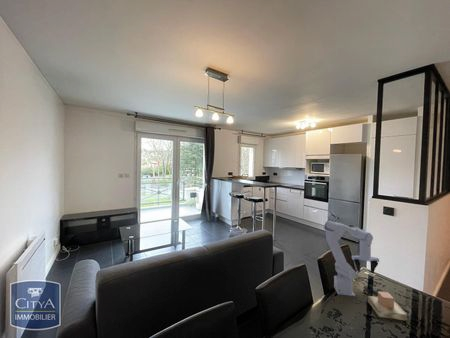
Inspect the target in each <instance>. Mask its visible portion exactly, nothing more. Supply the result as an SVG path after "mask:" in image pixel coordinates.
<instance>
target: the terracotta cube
mask: <svg viewBox="0 0 450 338" xmlns="http://www.w3.org/2000/svg"><path fill="white" fill-rule="evenodd" d="M377 297H378V301H379V303H380V304H381V305H382V306H383V307H389V308H394V301H395V298H394V297H393V296H392V295H391V293H389V292H387V291H377Z"/></svg>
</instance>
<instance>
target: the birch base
mask: <svg viewBox="0 0 450 338" xmlns="http://www.w3.org/2000/svg"><path fill="white" fill-rule="evenodd" d="M367 302H368V304H369V305H370V306H371V307H372V310H373V311H374V312H375V313H376V314H377V316H378V317H380V318H385V319H386V318H387V319H392V320H393V319H394V320H400V321H408V313H406V311H405V310H404V309H403V308H402V307H401V306H400V305H399V304H398V303H397V302H396V301H395V300H394V308H389V307H383V306H382V305H381V304H380V303H379V301H378V296H374V295H373V296H371V295H367Z"/></svg>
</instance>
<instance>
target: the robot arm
mask: <svg viewBox="0 0 450 338" xmlns="http://www.w3.org/2000/svg"><path fill="white" fill-rule="evenodd" d="M323 230H324V231H325V239H326V242H327V244H328V245H327V246H328V247H329V248H330V251H331V253H332V256H333V258H334V260H335V263H334V267H335V268H334V269H335V272H336V273H337V275H334V276H333V288H334V290H335V292H336V293H337V295H342V296H350V297H356V294H355V293H354V292H353V281H354V280H355V278H356V277H357V273H356V271H357V272H358V273H360V272H361V262H360V261H364V262H365V261H366V262H369V263H370V272H371V273H372V274H374V273H375V270H376V268H377V266H378V265H379V263H380V259H379V258H378V257H375V256H372V255H371V254H372V253H371V251H372V248H371V245H372V243H373V241H374V240H373V239H374V237H373V234H371V232H368V231H365V230H364V229H361V228H360V227H359V226H354V227H351V226H348V225H346V224H343V223H340V222H335V221H332V220H327V221H326V222H325V223H324V226H323ZM346 232H347V233H349V234H350V235H351V236H352V237H355V238H356V239H358V240H359V255H351V259H352V261H353V262H354V264H355V266H356V270H355V269H353V267H352V266H351V265H350V263H348V262H347V258H346V257H345V255H344V252H343V250H342V248H341V244H339V241H340V240H341V238H342V236H343V235H344V234H345V233H346Z"/></svg>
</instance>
